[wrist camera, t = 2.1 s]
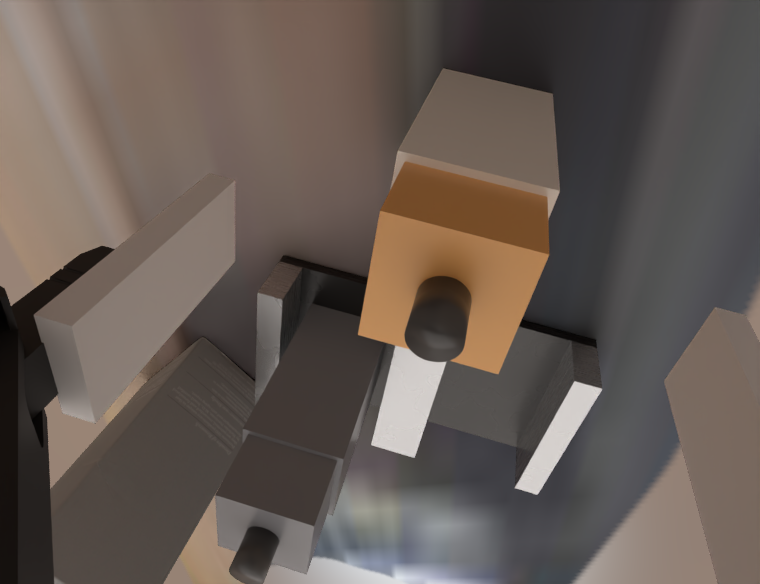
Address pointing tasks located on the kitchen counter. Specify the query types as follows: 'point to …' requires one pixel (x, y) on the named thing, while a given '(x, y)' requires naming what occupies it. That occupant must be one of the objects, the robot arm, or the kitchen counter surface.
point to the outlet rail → (446, 376)
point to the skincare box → (151, 473)
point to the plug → (464, 222)
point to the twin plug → (298, 446)
